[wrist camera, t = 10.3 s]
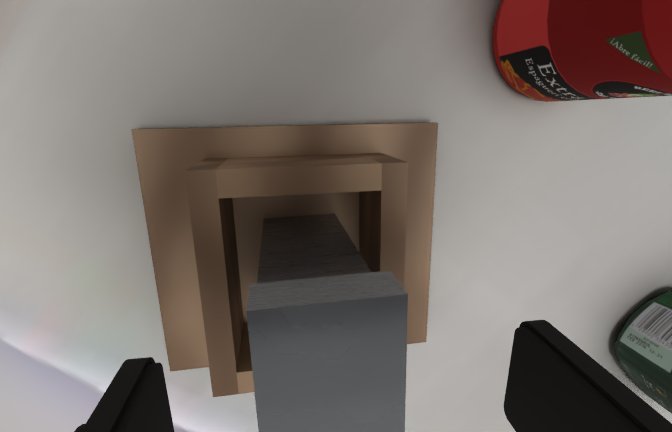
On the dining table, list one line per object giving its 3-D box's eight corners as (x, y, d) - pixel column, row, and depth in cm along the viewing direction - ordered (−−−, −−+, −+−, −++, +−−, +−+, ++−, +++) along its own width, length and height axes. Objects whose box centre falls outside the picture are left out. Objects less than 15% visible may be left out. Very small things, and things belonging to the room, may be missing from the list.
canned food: (472, 90, 22) (661, 65, 11) (509, -66, 20) (778, -273, 9) (583, 113, 23) (842, 109, 13) (627, -30, 21) (974, -174, 11)
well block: (430, 122, 22) (480, 124, 16) (420, 333, 25) (458, 390, 20) (138, 128, 19) (87, 133, 14) (174, 360, 23) (144, 433, 18)
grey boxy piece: (334, 196, 21) (407, 293, 9) (337, 293, 22) (403, 478, 11) (262, 200, 20) (246, 311, 9) (270, 299, 22) (266, 502, 10)
